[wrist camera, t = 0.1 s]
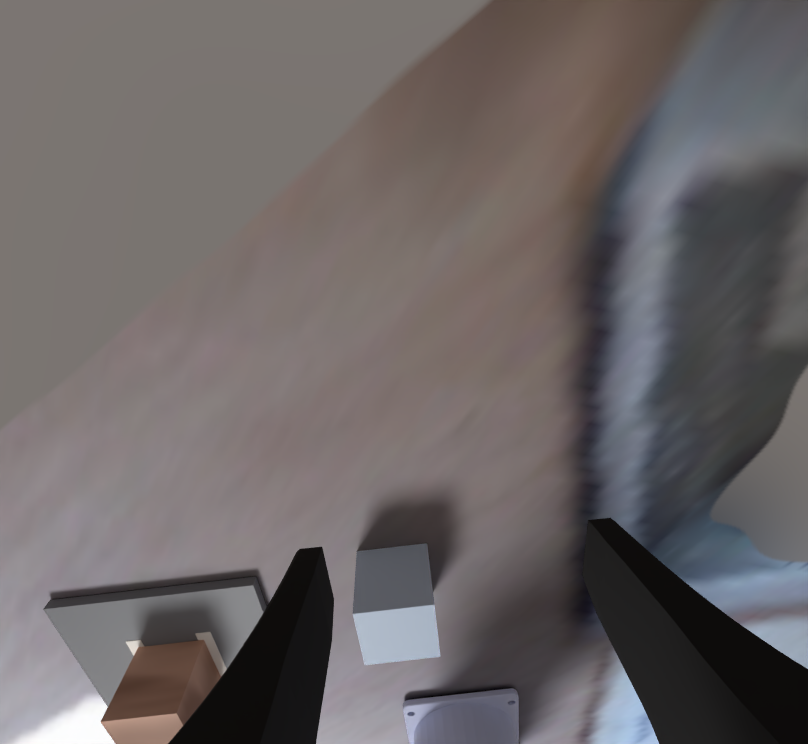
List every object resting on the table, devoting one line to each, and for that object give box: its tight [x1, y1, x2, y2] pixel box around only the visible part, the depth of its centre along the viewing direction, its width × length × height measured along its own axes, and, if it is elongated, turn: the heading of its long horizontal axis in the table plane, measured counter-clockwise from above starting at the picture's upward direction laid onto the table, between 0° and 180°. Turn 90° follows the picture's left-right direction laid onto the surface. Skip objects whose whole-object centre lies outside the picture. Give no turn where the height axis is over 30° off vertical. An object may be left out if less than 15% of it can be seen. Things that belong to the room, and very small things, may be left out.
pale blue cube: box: [353, 543, 440, 665], centre depth 25 cm, size 4×4×4 cm
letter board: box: [43, 577, 267, 706], centre depth 28 cm, size 12×12×1 cm
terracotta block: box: [101, 640, 221, 744], centre depth 26 cm, size 4×4×4 cm
